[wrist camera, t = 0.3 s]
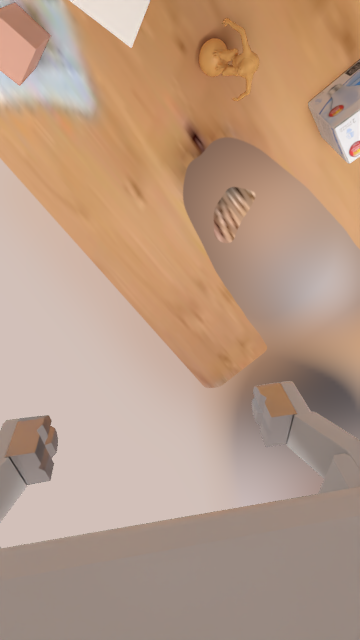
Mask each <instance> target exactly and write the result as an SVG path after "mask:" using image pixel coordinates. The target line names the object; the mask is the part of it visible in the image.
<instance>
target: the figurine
mask: <svg viewBox="0 0 360 640" xmlns="http://www.w3.org/2000/svg"><path fill="white" fill-rule="evenodd" d="M225 19H226V20H223V21H225V22H223V23H222V24H225V25H224V27H225V26H226V25H228V24H229V25H230V26H231V27H232V28H233V29H235V30H236V31H238V32H239V33H240V34H241V40H242V45H243V53H242V54H240V55H239V56H238V50H237V49H236V48H235V49H232V50H227V47H226V45H225V44H224V42H223V41H221V40H220V39H217V38H213V39H210V40H208V41H206V42H205V43H204V45H203V46H202V48H201V50H200V54H199V64H200V67H201V69H202V71H203V72H204V73H205V74H206V75H208V76H211V77H215V76H218V75H220V74H221V73H222V75H223V76H231V75H234V76H241V77H243V78H245V79H246V91H245V92H244V93H243V94H241V95H240V96H239V97H238V98H234V99H232V100H234V101H239V100H241V99H242V98H244V97H245V96H247V95H249V94H250V91H251V82H252V79H253V74H254V73H255V72H256V71H257V69H258V66H259V58H258V56H257V55H256V54H255V53H253V52H252V51H251V49H250V47H249V45H248V40H247V36H246V33H245V30H244V28H242V27H240V26H238V25H237V24H236V23H234V22H232V21H231V20H230V19H228V18H225ZM231 60H233V61H232V65H229V64H227V63H228V62H229V61H231Z"/></svg>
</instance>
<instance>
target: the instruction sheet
mask: <svg viewBox="0 0 360 640" xmlns="http://www.w3.org/2000/svg"><path fill="white" fill-rule="evenodd" d="M69 1H71V2H72V3H73V4H74V5H76V6H77V7H78V8H80V9H81V10H82V11H84V12H85V13H86V14H87V15H89V16H90V17H91V18H93V19H94V20H95V21H97V22H98V23H99V24H101V25H102V26H103V27H104V28H106V29H107V30H108V31H110V32H111V33H112V34H114V35H115V36H116V37H117V38H119V39H120V40H121V41H123V42H124V43H125V44H127V45H128V46H129V47H130V48H132V46H133V43H134V40H135V38H136V35H137V33H138V30H139V28H140V25H141V23H142V20H143V18H144V15H145V13H146V10H147V8H148V5H149V3H150V0H69Z"/></svg>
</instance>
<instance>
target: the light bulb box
mask: <svg viewBox="0 0 360 640" xmlns="http://www.w3.org/2000/svg"><path fill="white" fill-rule="evenodd" d="M308 106H309V109H310V111H311V113H312V116H313V118H314V120H315V123H316V125H317V127H318V130H319V132H320V134H321V137H322V138H323V139H324V140H325V141H326V142H327V143H328V144H329V145H330V146H331V147H332V148H333V149H334V150H335V151H336V152H337V153H338V154H339V155H340V156H341V157H342V158H343V159H344V160H345V161H346V162H347V163H349V164H350V163H351V162H353V161H354V160H355V159H357V158H358V157H360V60H359V61H358V62H357V63H355V64H354V65H353V66H352V67H351V68H349V69H348V70H347V71H346V72H345V73H343V74H342V75H341V76H340V77H338V78H337V79H336V80H335V81H334V82H332V83H331V84H330V85H329V86H328V87H326V88H325V89H324V90H323V91H322V92H320V93H319V94H318V95H317V96H315V97H314V98H313V99H312V100H311V101H310V102H309V103H308Z"/></svg>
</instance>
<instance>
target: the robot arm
mask: <svg viewBox="0 0 360 640" xmlns="http://www.w3.org/2000/svg"><path fill="white" fill-rule="evenodd" d="M253 393H254V395H255V398H254V399H253V400H252V412H253V416H254V419H255V421H256V423H257V424H258V425H260V426H261V428H260V433H261V436H262V439H263V441H264V443H265V446H266V447H269V446H277V445H285V444H287V446H288V447H289V448H290V449H291V450H293V451H294V452H295V453H296V454H297V455H298V456H299V457H300V458H301V459H303V460H304V461H305V462H306V463H307V464H308V465H309V466H310V467H311V468H313V469H314V470H315V471H316V472H317V473H318V474H319V475H320V476H322V477H323V478H324V481H323V483H322V486H321V488H320V491H319V493H318V494H315V495H309V496H303V497H297V498H291V499H286V500H280V501H274V502H268V503H263V504H257V505H251V506H245V507H239V508H234V509H228V510H222V511H216V512H210V513H205V514H199V515H192V516H187V517H181V518H175V519H170V520H163V521H158V522H152V523H146V524H141V525H135V526H129V527H123V528H117V529H111V530H106V531H100V532H95V533H88V534H83V535H77V536H71V537H65V538H59V539H53V540H48V541H42V542H36V543H30V544H24V545H19V546H13V547H7V548H0V640H360V440H359V439H357V438H355V437H354V436H353V435H351V434H349V433H348V432H346V431H344V430H343V429H341V428H340V427H338V426H337V425H335V424H333V423H332V422H330V421H329V420H327V419H325V418H324V417H322V416H321V415H319V414H318V413H316V412H311V411H310V409H309V408H308V406H307V404H306V403H305V401H304V399H303V398H302V396H301V395H300V393H299V391H298V390H297V388H296V386H295V385H294V383H293V382H292V381H287V382H280V383H272V384H265V385H258V386H255V387H254V390H253ZM50 425H51V419H50V417H49V416H48V415H47V416H37V417H29V418H20V419H12V420H6V421H5V423H4V424H3V426H2V428H1V431H0V522H1V521H2V520H3V518H4V517H5V516H6V514H7V513H8V511H9V510H10V509H11V507H12V506H13V505H14V503H15V502H16V501H17V499H18V498H19V497H20V495H21V494H22V492H23V491H24V490H25V488H26V487H27V485H30V484H35V483H41V482H46V481H50V480H51V475H52V470H53V466H54V463H53V461H52V459H51V458H52V457H53V456H54V455H55V454H56V451H57V446H58V437H57V432H56V430H55V428H53V427H52V426H50Z"/></svg>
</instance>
